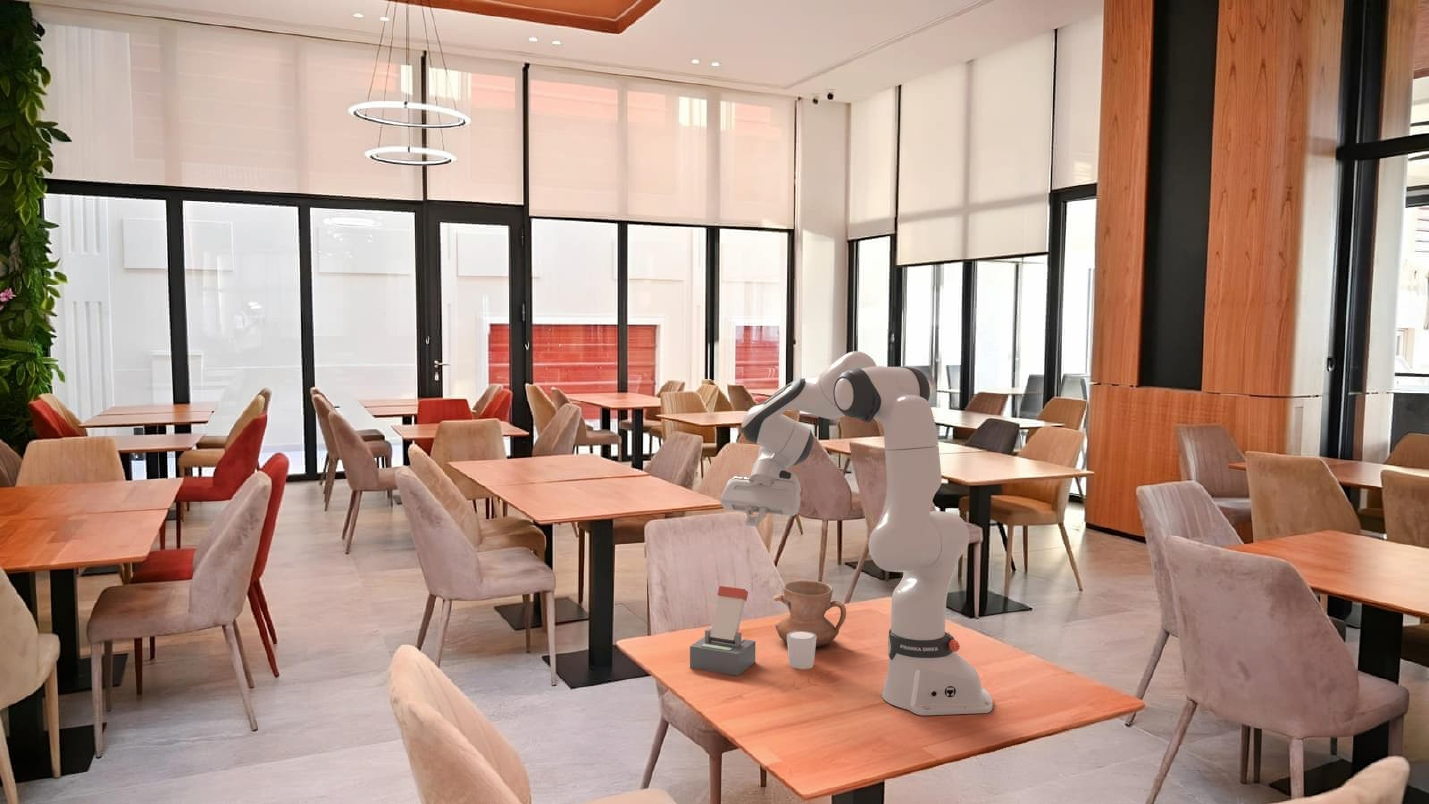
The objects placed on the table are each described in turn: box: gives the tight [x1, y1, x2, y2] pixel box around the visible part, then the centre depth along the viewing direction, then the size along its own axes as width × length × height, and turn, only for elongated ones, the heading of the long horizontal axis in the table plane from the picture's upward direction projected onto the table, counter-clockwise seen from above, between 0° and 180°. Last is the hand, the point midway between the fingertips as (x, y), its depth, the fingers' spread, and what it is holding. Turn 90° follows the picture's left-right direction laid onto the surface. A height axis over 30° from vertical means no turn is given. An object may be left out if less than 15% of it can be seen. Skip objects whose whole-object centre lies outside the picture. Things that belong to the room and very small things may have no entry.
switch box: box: [689, 627, 756, 677], centre depth 221 cm, size 10×12×8 cm
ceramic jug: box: [773, 579, 847, 648], centre depth 237 cm, size 18×14×14 cm
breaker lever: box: [710, 585, 749, 644], centre depth 223 cm, size 3×6×13 cm, turn 65°
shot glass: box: [786, 631, 817, 670], centre depth 221 cm, size 7×7×7 cm
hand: (751, 524), depth 235 cm, fingers closed
